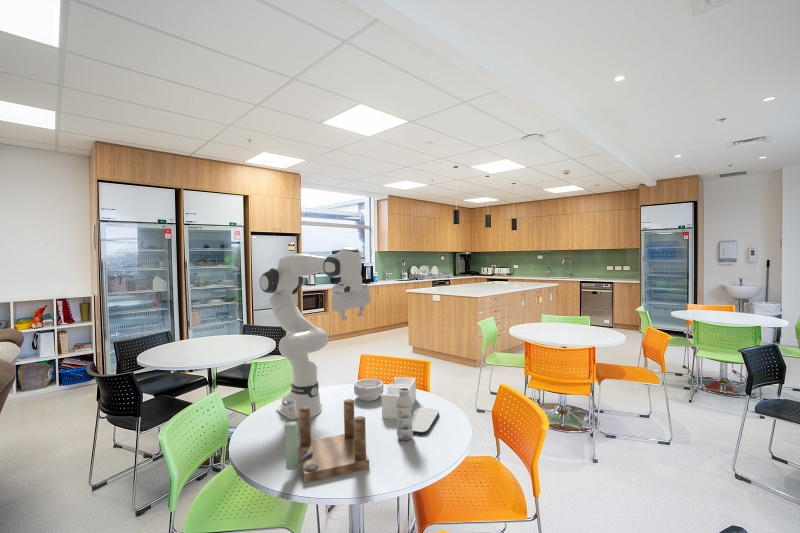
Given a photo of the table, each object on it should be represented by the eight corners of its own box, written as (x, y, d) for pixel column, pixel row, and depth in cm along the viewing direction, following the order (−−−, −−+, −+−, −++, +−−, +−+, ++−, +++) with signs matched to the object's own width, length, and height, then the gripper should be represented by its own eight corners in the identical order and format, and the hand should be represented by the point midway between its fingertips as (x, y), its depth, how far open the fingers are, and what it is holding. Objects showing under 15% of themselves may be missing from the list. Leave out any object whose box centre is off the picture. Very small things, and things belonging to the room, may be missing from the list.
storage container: (405, 420, 169) (405, 396, 169) (382, 418, 172) (381, 394, 171) (415, 399, 193) (415, 378, 193) (395, 397, 196) (394, 377, 196)
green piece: (306, 450, 137) (305, 411, 136) (315, 453, 135) (314, 413, 135) (283, 468, 126) (282, 425, 125) (292, 471, 124) (291, 427, 124)
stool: (304, 482, 124) (303, 431, 123) (298, 450, 144) (297, 406, 144) (369, 468, 131) (368, 420, 131) (354, 439, 152) (353, 398, 151)
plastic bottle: (414, 442, 149) (413, 392, 148) (397, 442, 148) (396, 392, 148) (412, 434, 155) (411, 386, 155) (396, 435, 155) (395, 387, 154)
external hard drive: (426, 437, 153) (426, 432, 153) (400, 433, 157) (399, 428, 157) (440, 414, 175) (440, 410, 175) (416, 411, 179) (416, 407, 179)
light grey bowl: (389, 397, 196) (389, 382, 196) (367, 406, 185) (366, 390, 185) (370, 390, 207) (370, 376, 207) (348, 398, 196) (348, 383, 196)
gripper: (363, 282, 169) (363, 313, 170) (328, 288, 153) (329, 321, 154) (373, 283, 165) (374, 314, 166) (339, 289, 149) (340, 323, 150)
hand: (352, 318), depth 160 cm, fingers open, 8 cm apart
